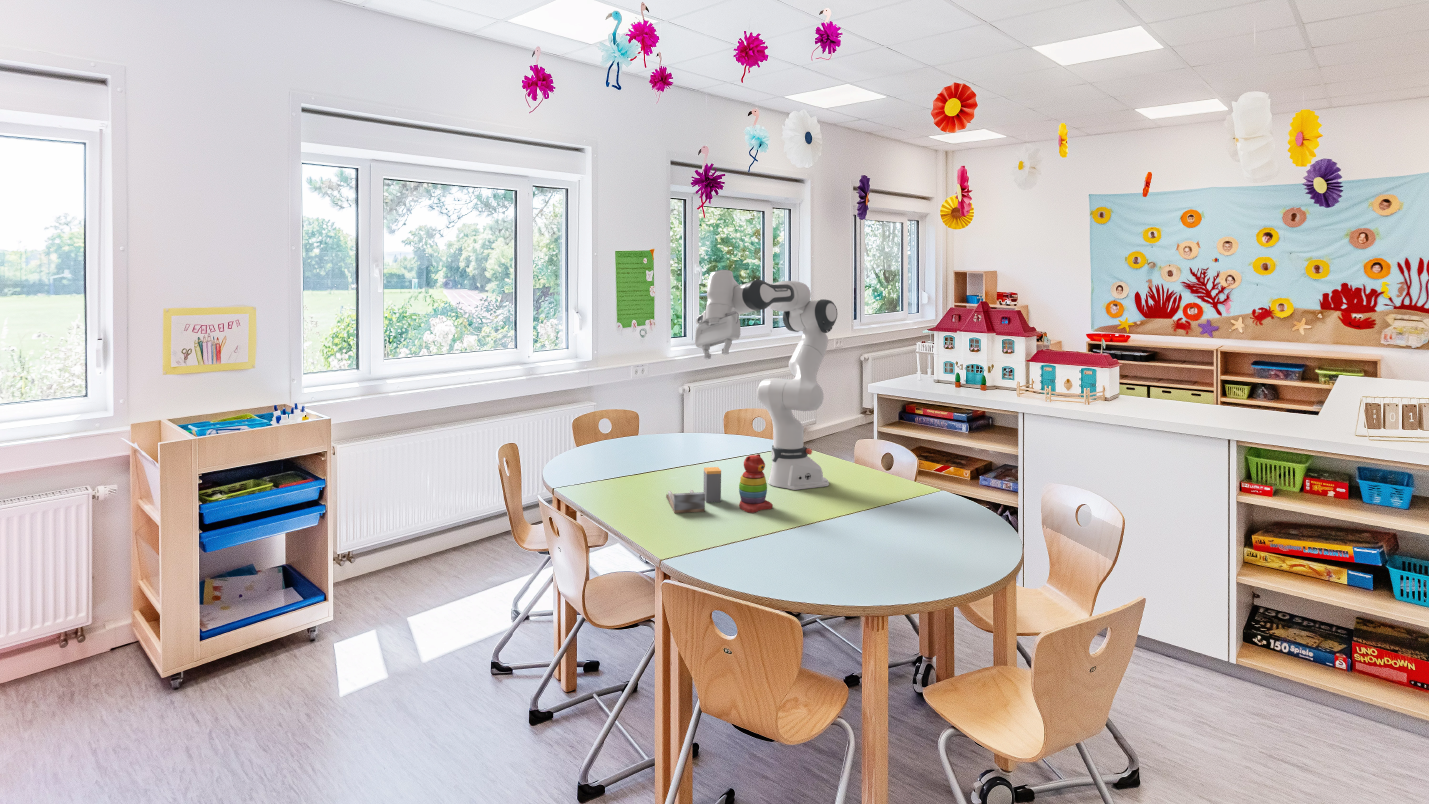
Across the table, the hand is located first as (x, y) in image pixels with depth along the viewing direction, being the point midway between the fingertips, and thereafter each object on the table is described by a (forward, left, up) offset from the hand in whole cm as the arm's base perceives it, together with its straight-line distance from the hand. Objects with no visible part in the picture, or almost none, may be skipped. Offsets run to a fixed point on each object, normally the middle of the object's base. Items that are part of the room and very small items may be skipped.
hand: (716, 356), depth 252 cm
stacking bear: (-12, +7, -50) cm, 52 cm away
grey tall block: (0, -3, -50) cm, 50 cm away
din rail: (+10, 0, -50) cm, 51 cm away
